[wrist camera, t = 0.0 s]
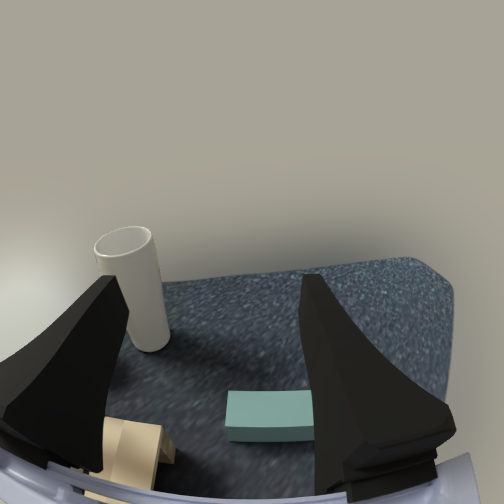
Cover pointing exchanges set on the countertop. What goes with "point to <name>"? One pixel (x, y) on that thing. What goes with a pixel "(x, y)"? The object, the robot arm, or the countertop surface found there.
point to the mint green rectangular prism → (269, 416)
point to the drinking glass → (136, 283)
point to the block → (132, 455)
